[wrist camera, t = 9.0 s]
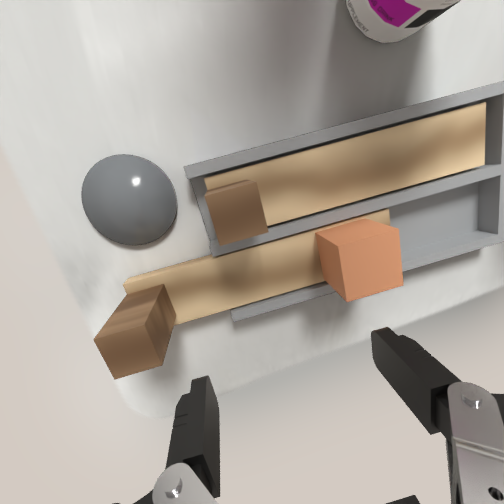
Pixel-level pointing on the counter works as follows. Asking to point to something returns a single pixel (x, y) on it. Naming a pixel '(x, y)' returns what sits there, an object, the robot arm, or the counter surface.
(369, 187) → the oak strip
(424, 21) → the supplement can
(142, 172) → the slate coaster
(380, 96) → the counter surface
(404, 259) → the lane frame
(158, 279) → the oak strip
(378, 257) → the rust cube
